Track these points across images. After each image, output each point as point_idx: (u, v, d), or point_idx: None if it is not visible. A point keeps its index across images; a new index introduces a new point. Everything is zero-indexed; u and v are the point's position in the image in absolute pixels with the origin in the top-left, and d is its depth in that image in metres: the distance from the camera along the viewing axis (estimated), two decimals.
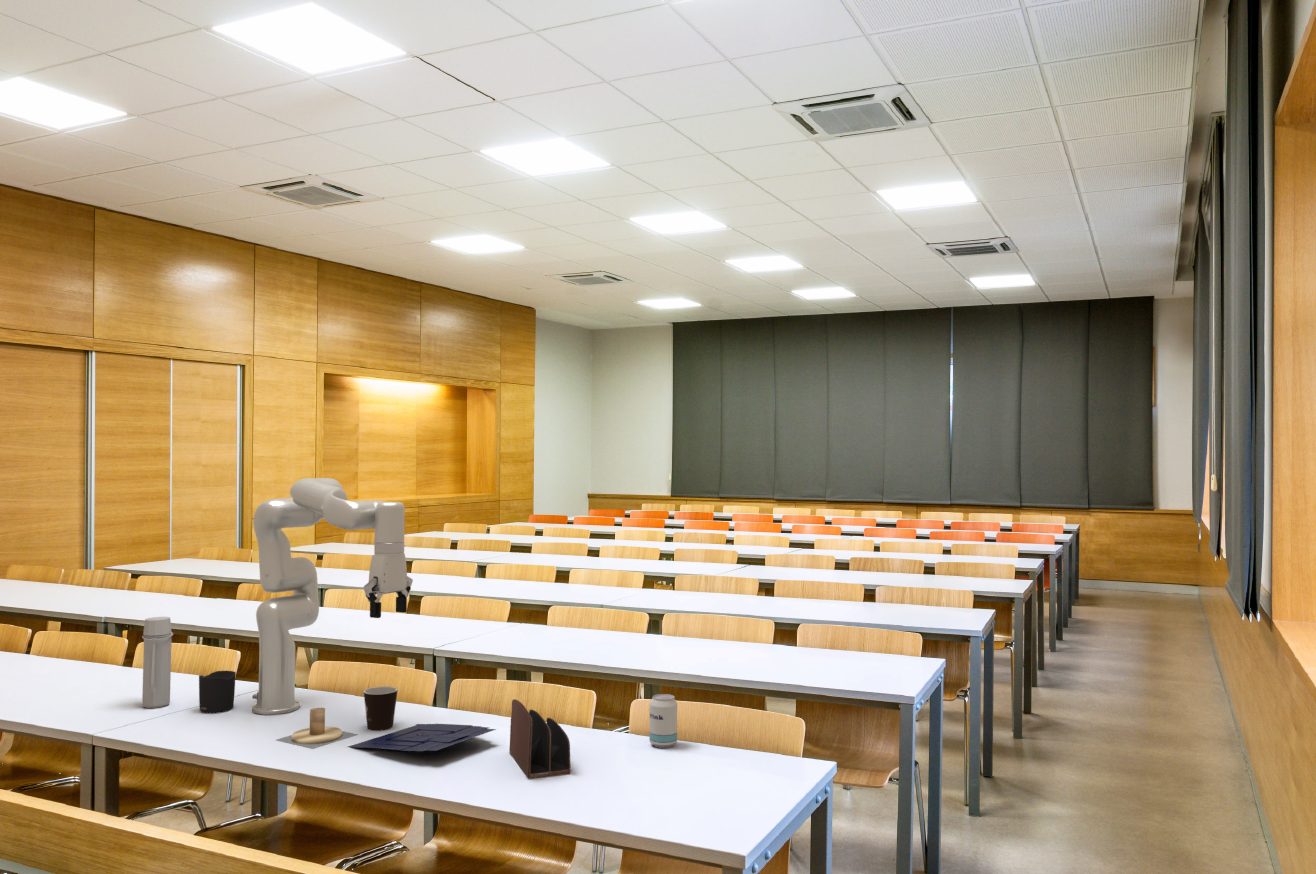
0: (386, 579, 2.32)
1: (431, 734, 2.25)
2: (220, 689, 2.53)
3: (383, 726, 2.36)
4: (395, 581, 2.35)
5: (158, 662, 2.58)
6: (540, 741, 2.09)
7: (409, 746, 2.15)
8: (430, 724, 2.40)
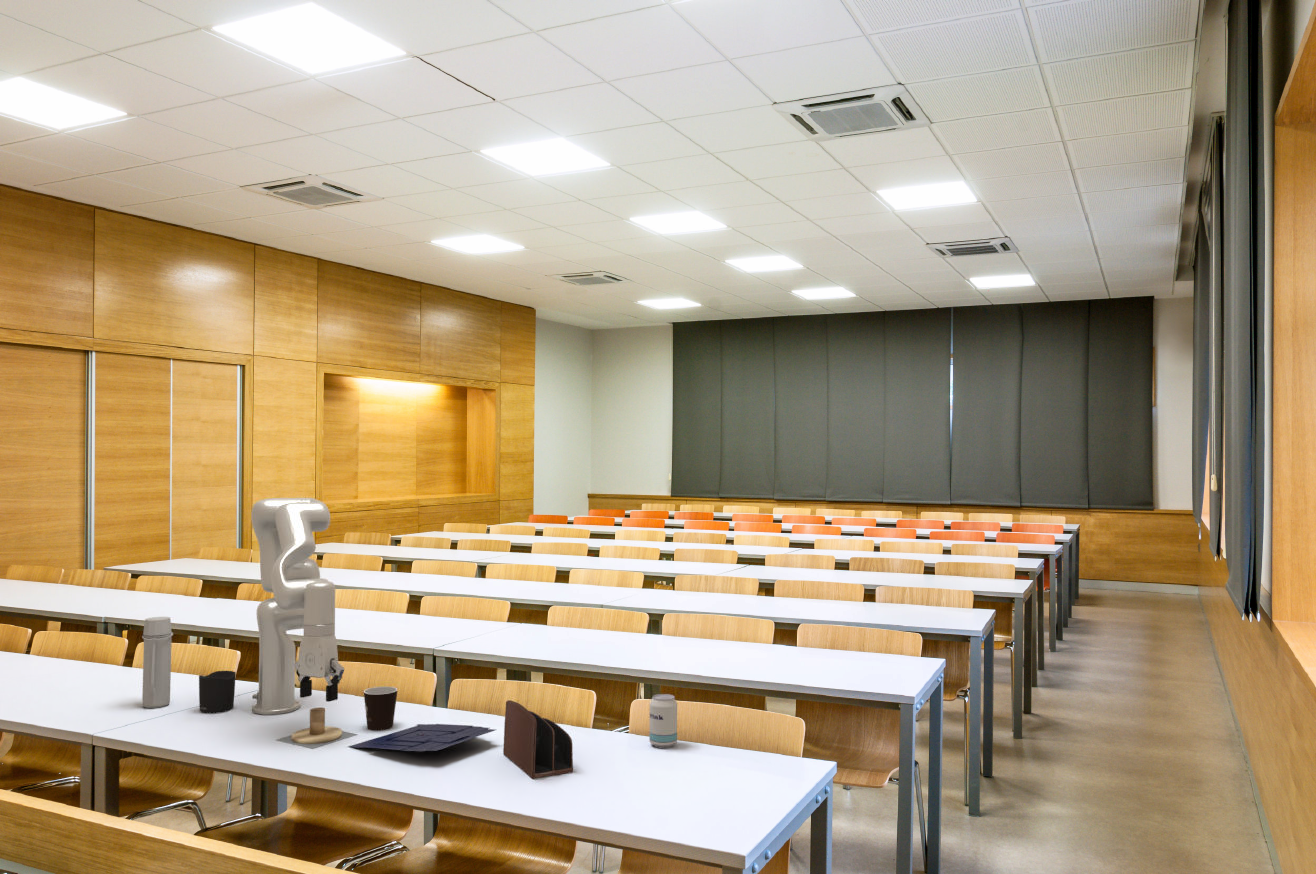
0: None
1: (432, 734, 2.25)
2: (220, 689, 2.53)
3: (383, 726, 2.36)
4: None
5: (157, 662, 2.58)
6: (540, 741, 2.09)
7: (409, 746, 2.15)
8: (431, 724, 2.40)
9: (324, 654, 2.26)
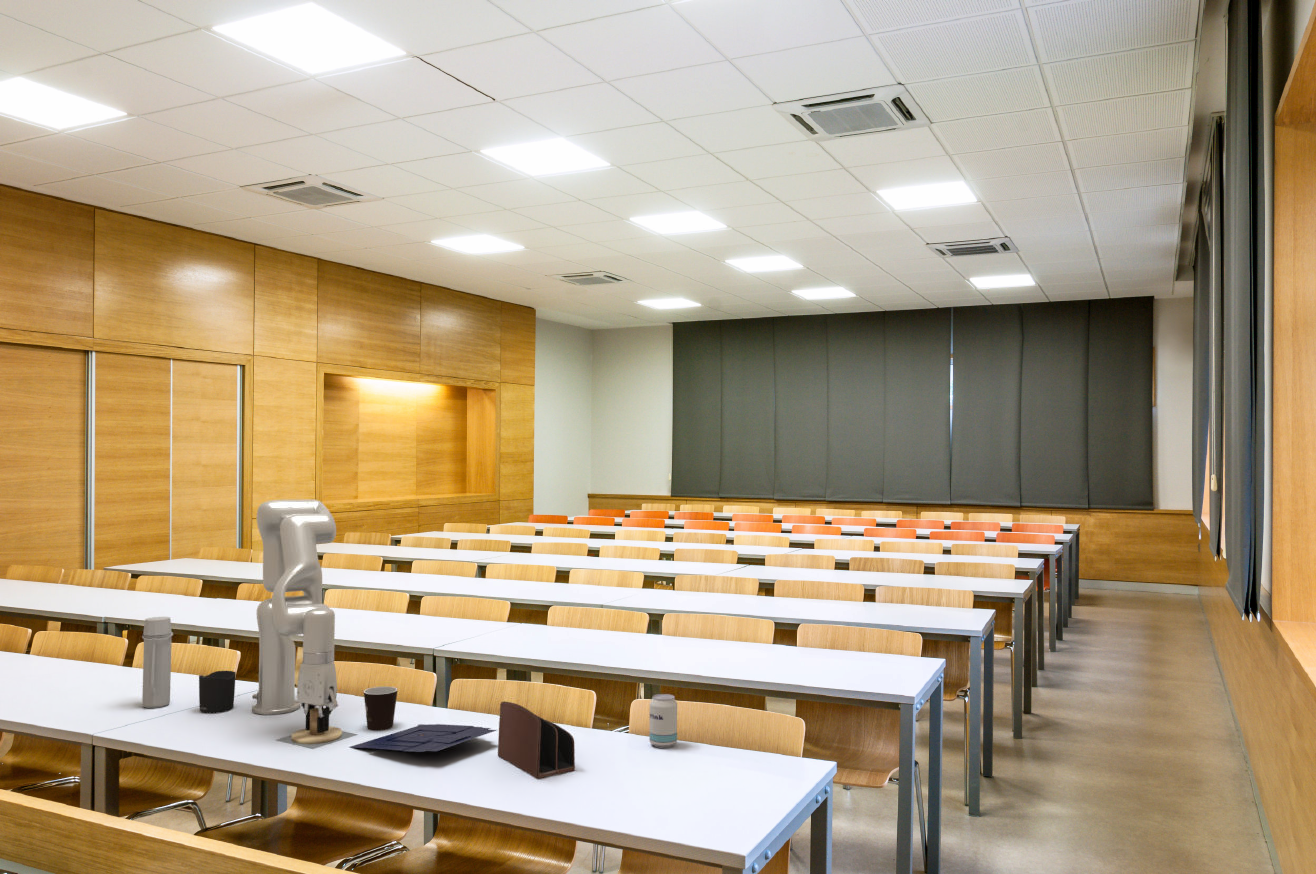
0: None
1: (432, 735, 2.25)
2: (220, 689, 2.53)
3: (383, 726, 2.36)
4: None
5: (157, 662, 2.58)
6: (540, 741, 2.09)
7: (410, 747, 2.15)
8: (432, 725, 2.40)
9: (323, 682, 2.26)
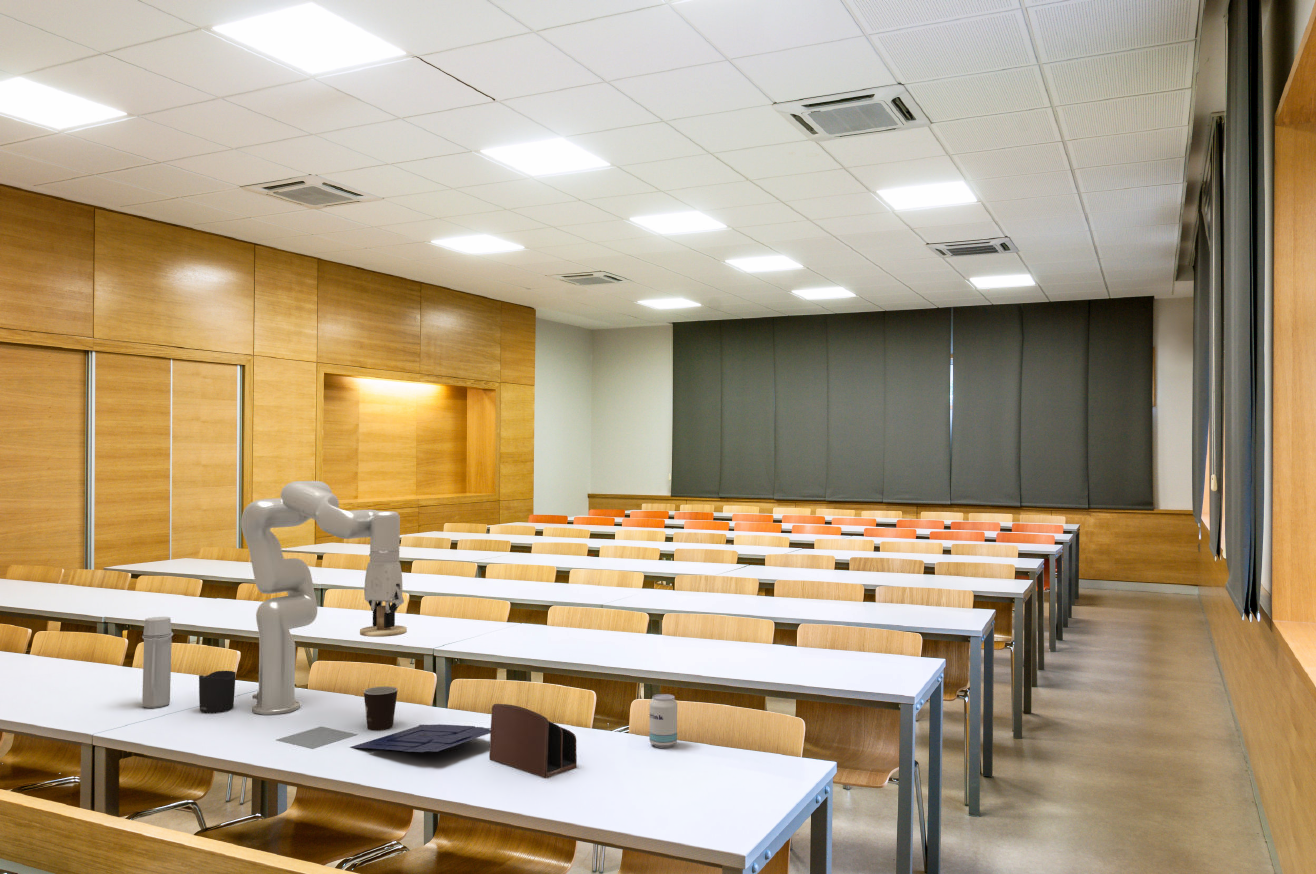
0: None
1: (433, 735, 2.25)
2: (220, 689, 2.53)
3: (383, 726, 2.36)
4: None
5: (158, 662, 2.58)
6: None
7: (410, 747, 2.14)
8: (433, 725, 2.39)
9: (390, 579, 2.38)
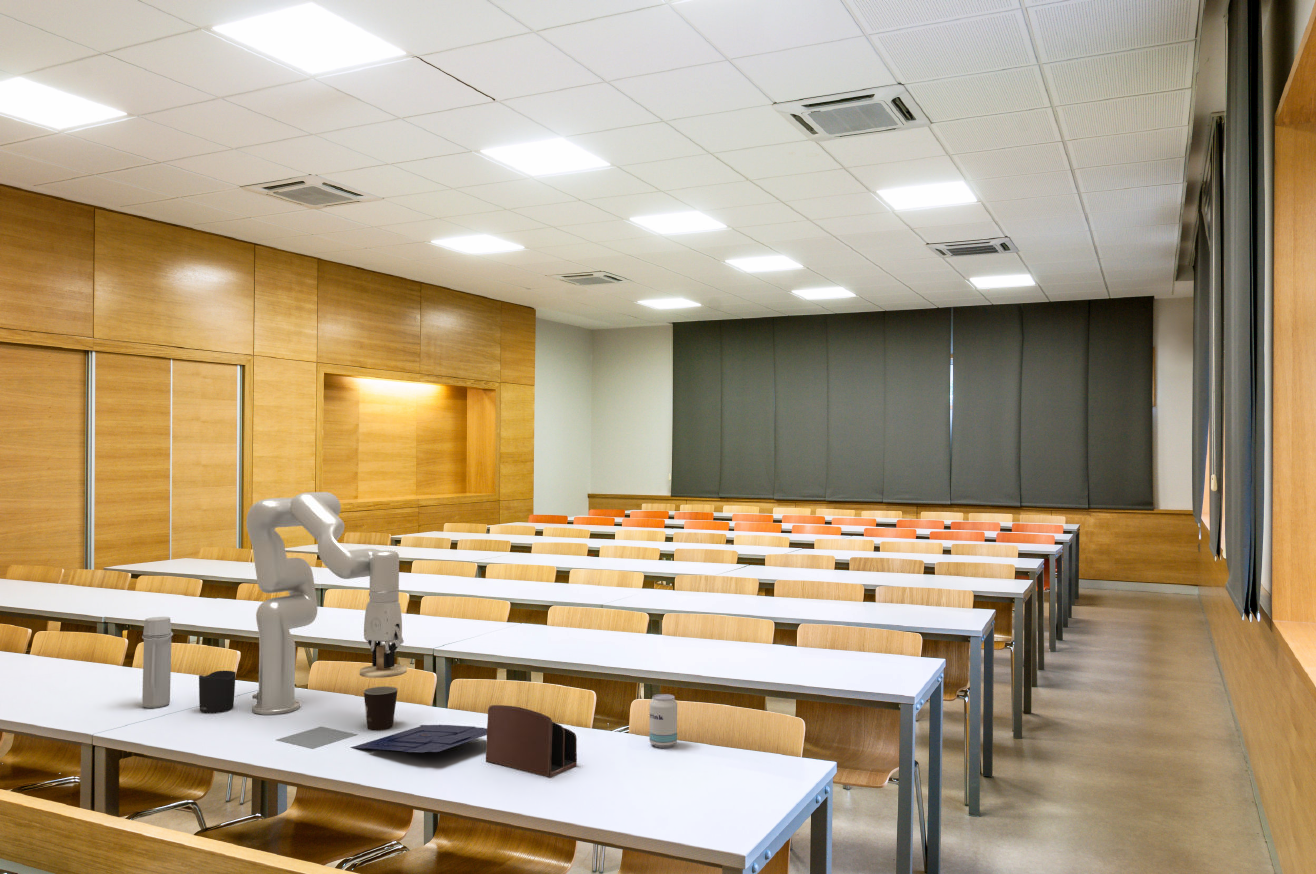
0: None
1: (434, 735, 2.25)
2: (220, 689, 2.53)
3: (383, 726, 2.36)
4: None
5: (157, 662, 2.58)
6: None
7: (411, 747, 2.14)
8: (434, 725, 2.39)
9: (390, 619, 2.37)
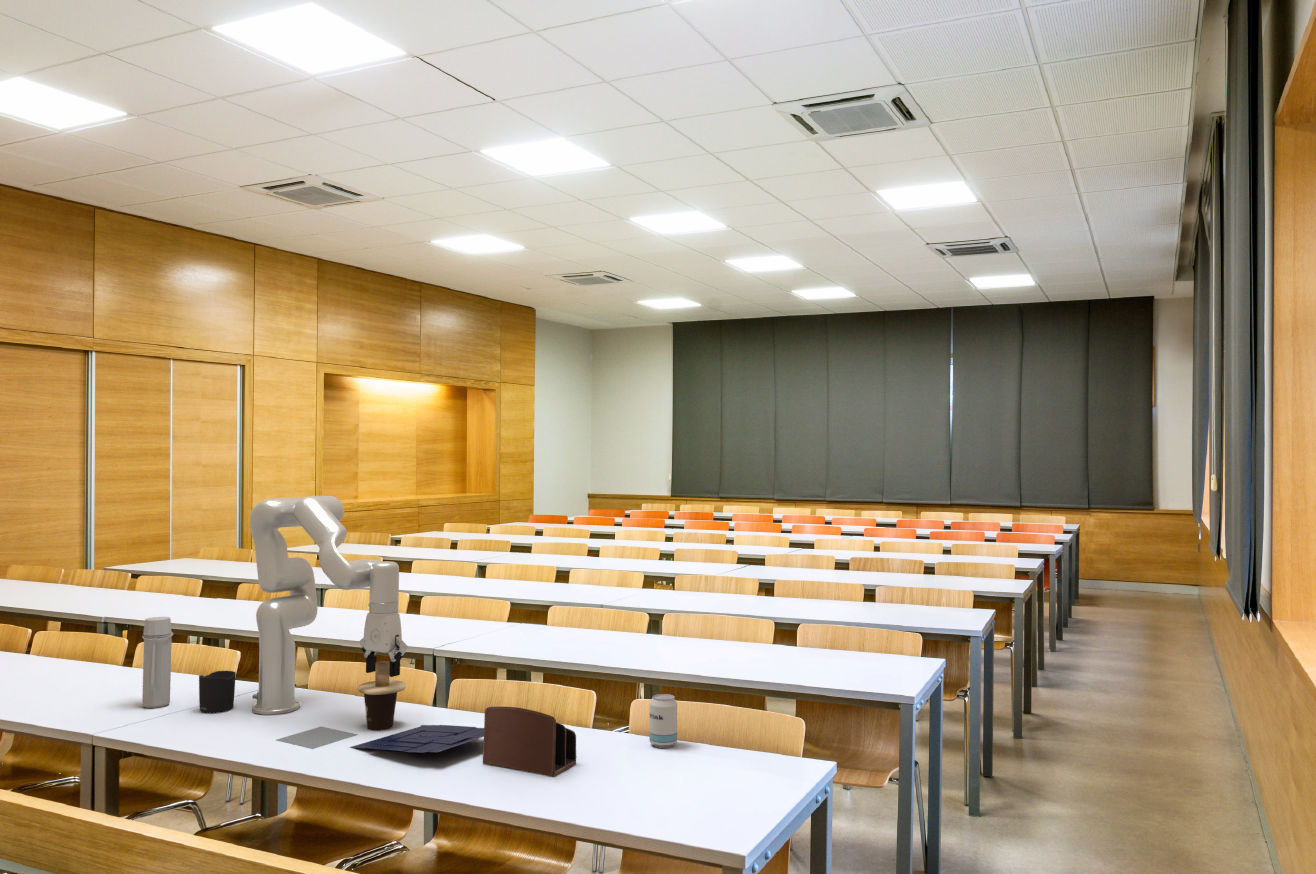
0: None
1: (434, 735, 2.24)
2: (220, 689, 2.53)
3: (383, 726, 2.36)
4: None
5: (158, 662, 2.58)
6: None
7: (411, 747, 2.14)
8: (434, 725, 2.39)
9: (389, 631, 2.37)
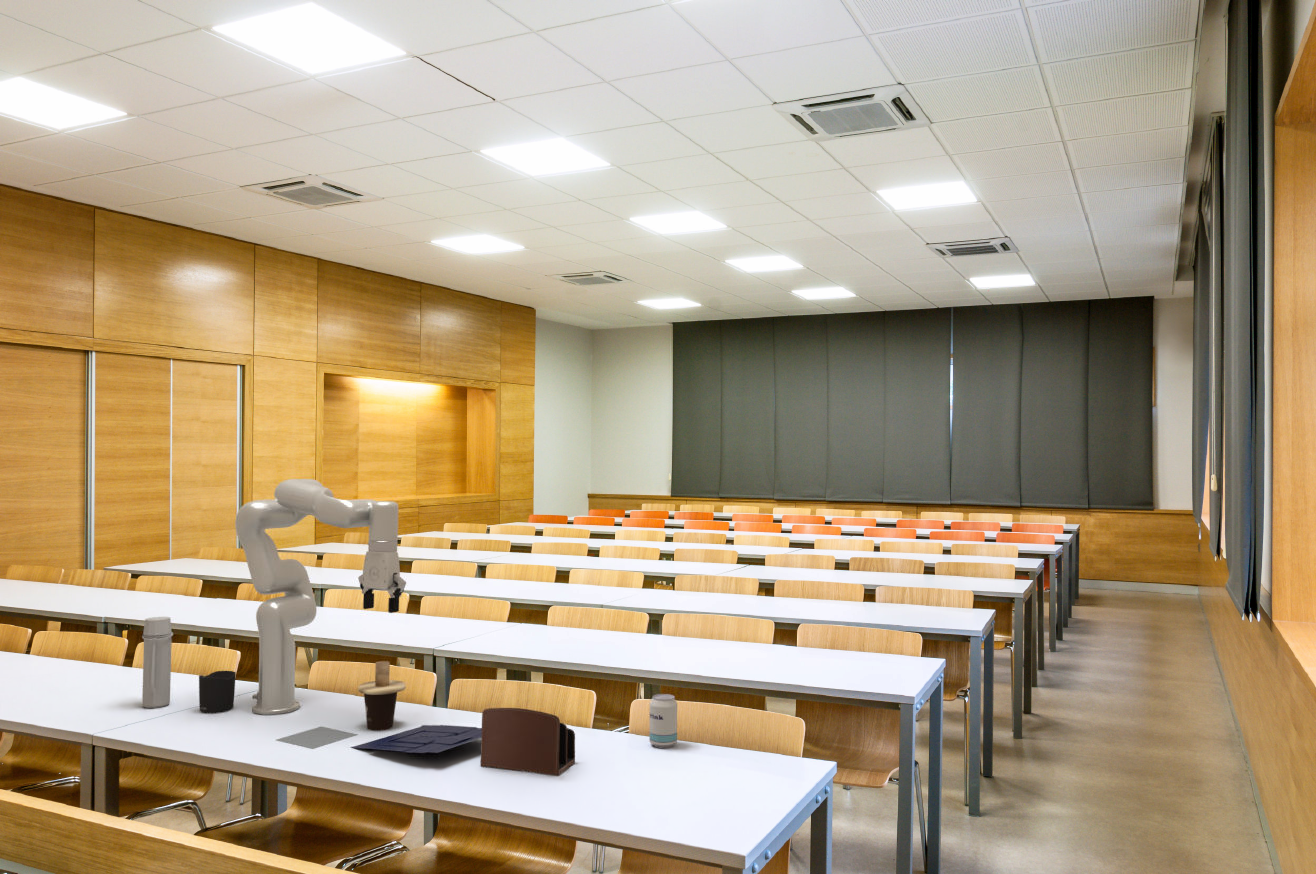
0: None
1: (435, 736, 2.24)
2: (220, 689, 2.53)
3: (383, 726, 2.36)
4: None
5: (158, 662, 2.58)
6: None
7: (412, 748, 2.14)
8: (435, 725, 2.39)
9: (388, 568, 2.41)
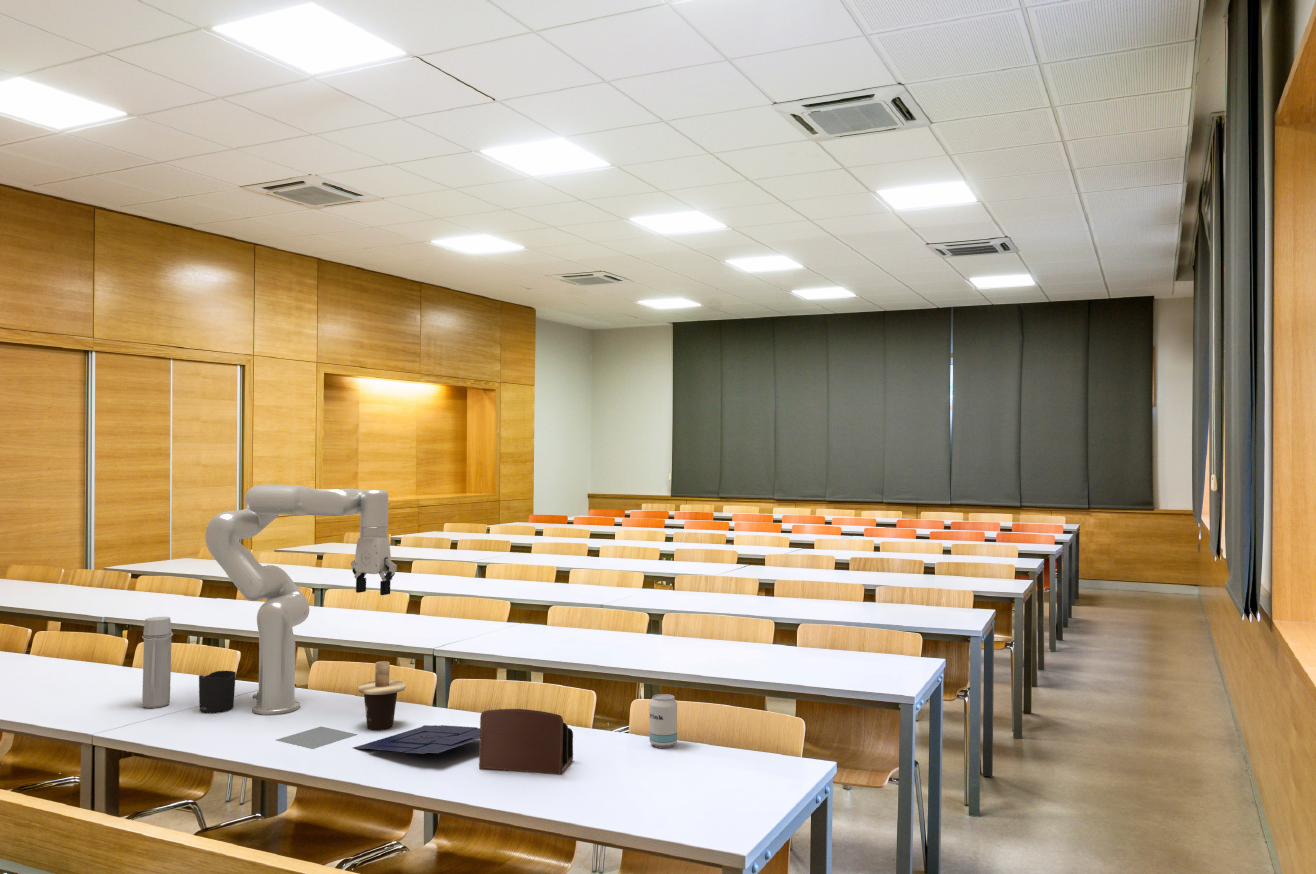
0: None
1: (435, 736, 2.24)
2: (220, 689, 2.53)
3: (383, 726, 2.36)
4: None
5: (157, 662, 2.58)
6: None
7: (412, 748, 2.13)
8: (436, 726, 2.38)
9: (379, 553, 2.53)
